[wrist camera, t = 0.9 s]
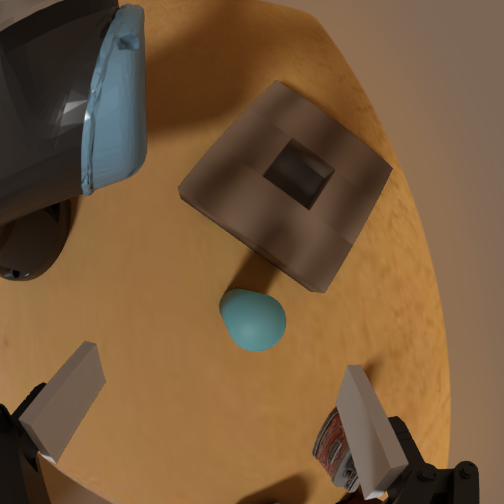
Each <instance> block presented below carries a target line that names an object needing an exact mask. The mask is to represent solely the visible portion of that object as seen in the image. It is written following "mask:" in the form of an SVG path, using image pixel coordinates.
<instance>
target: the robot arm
mask: <svg viewBox="0 0 504 504" xmlns="http://www.w3.org/2000/svg"><path fill="white" fill-rule="evenodd" d="M144 21H145V19H144V9H143V8H142V7H141V6H139V5H131V4H129V3H128V4H125V5H122V6H121V8H120V7H119V5H118V0H0V277H2V278H4V279H7V280H12V281H28V280H32V279H35V278H37V277H39V276H40V275H42V274H43V273H44V272H46V271H47V270H48V269H49V268H50V267H51V265H52V264H53V263H54V262H55V260H56V259H57V257H58V255H59V254H60V252H61V250H62V248H63V245H64V243H65V240H66V237H67V233H68V229H69V223H70V198H72V197H75V196H78V195H81V194H84V195H85V196H89V195H91V194H93V192H94V190H97V189H99V188H102V187H105V186H108V185H110V184H113V183H116V182H119V181H122V180H125V179H127V178H129V177H131V176H133V175H134V174H135V173H137V172H138V171H139V169H140V168H141V167H142V165H143V163H144V161H145V158H146V154H147V120H146V92H145V36H144ZM105 383H106V380H105V377H104V373H103V370H102V366H101V362H100V358H99V354H98V349H97V345H96V344H95V343H91V342H86V341H85V342H84V343H83V344H82V345H81V346H80V347H79V348H78V349H77V350H76V351H75V353H74V354H73V355H72V356H71V357H70V358H69V359H68V360H67V362H66V363H65V364H64V365H63V366H62V367H61V368H60V370H59V371H58V372H57V373H56V374H55V375H54V376H53V378H52V379H51V380H50V381H49V382H48V383H47V384H46V383H44V382H43V383H41V384H39V385H38V386H36V387H35V388H34V389H33V390H32V391H31V392H30V395H28V396H27V397H26V400H25V399H24V401H23V402H22V403H21V404H20V405H19V407H18V408H17V409H16V410H15V411H14V413H13V414H12V415H10V413H9V412H8V410H7V408H6V407H5V406H4V405H3V404H0V504H51V502H50V499H49V496H48V492H47V489H46V486H45V482H44V479H43V475H42V471H41V468H40V463H39V459H38V457H37V455H36V454H37V452H38V451H40V453H41V454H42V456H43V457H44V458H46V459H48V460H50V461H52V462H54V463H56V464H57V462H58V460H59V458H60V457H61V455H62V453H63V451H64V450H65V448H66V446H67V444H68V443H69V441H70V439H71V438H72V436H73V434H74V433H75V431H76V429H77V428H78V426H79V424H80V423H81V421H82V419H83V418H84V416H85V414H86V413H87V411H88V410H89V408H90V406H91V405H92V403H93V402H94V400H95V398H96V397H97V395H98V394H99V392H100V391H101V389H102V387H103V386H104V384H105ZM336 406H337V409H338V412H339V416H340V419H341V422H342V425H343V428H344V431H345V435H346V438H347V441H348V444H349V448H350V451H351V454H352V458H353V461H354V464H355V468H356V471H357V474H358V478H359V481H360V485H361V488H362V492H363V495H364V499H365V500H367V499H372V498H376V497H380V496H382V495H383V494H384V493H385V491H386V490H387V493H388V497H387V498H386V499H385V500H384V501H383V502H382V504H479V472H478V468H477V467H476V465H475V464H473V463H472V462H470V461H462V462H460V463H459V464H458V465H457V466H456V467H455V468H454V469H437V468H436V467H435V466H433V465H431V464H428V463H425V461H424V460H423V458H422V456H421V454H420V452H419V450H418V448H417V446H416V444H415V442H414V440H413V439H412V436H411V434H410V432H409V430H408V428H407V426H406V424H405V423H404V422H403V421H402V420H401V419H400V418H399V417H398V416H395V417H389V418H387V416H386V414H385V412H384V410H383V408H382V406H381V404H380V402H379V399H378V397H377V395H376V393H375V391H374V389H373V387H372V385H371V383H370V382H369V380H368V378H367V376H366V374H365V372H364V370H363V368H362V366H361V365H347V369H346V372H345V375H344V378H343V382H342V385H341V388H340V391H339V394H338V397H337V400H336Z"/></svg>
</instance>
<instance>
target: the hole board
mask: <svg viewBox="0 0 504 504" xmlns="http://www.w3.org/2000/svg"><path fill="white" fill-rule="evenodd" d="M392 169H393V168H392V167H391V166H390V165H389V164H388V163H387V162H386V161H385V160H383V159H382V158H381V157H380V156H379V155H378V154H377V153H375V152H374V151H373V150H372V149H371V148H370V147H368V146H367V145H366V144H365V143H364V142H362V141H361V140H360V139H359V138H358V137H356V136H355V135H354V134H353V133H351V132H350V131H349V130H348V129H346V128H345V127H344V126H342V125H341V124H340V123H339V122H337V121H336V120H335V119H333V118H332V117H331V116H329V115H328V114H326V113H325V112H324V111H322V110H321V109H319V108H318V107H317V106H315V105H314V104H312V103H311V102H309V101H308V100H307V99H305V98H304V97H302V96H301V95H299V94H298V93H296V92H295V91H293V90H291V89H290V88H288V87H287V86H285V85H284V84H282V83H280V82H279V81H277V80H275V81H274V82H273V83H272V84H271V85H270V86H269V87H268V88H267V89H266V90H265V91H264V92H263V93H262V94H261V95H260V96H259V97H258V98H257V99H256V100H255V101H254V102H253V103H252V104H251V105H250V106H249V107H248V108H247V109H246V110H245V111H244V112H243V113H242V114H241V115H240V116H239V117H238V118H237V119H236V120H235V122H234V123H233V124H232V125H231V126H230V127H229V128H228V129H227V130H226V131H225V132H224V133H223V135H222V136H221V137H220V138H219V139H218V140H217V141H216V142H215V143H214V145H213V146H212V147H211V148H210V149H209V150H208V151H207V153H206V154H205V155H204V156H203V157H202V158H201V160H200V161H199V162H198V163H197V164H196V165H195V167H194V168H193V169H192V170H191V171H190V173H189V174H188V175H187V176H186V178H185V179H184V180H183V181H182V182H181V184H180V185H179V186H178V190H179V194H180V197H181V199H182V200H184V201H185V202H186V203H188V204H189V205H191V206H192V207H193V208H195V209H196V210H198V211H199V212H200V213H202V214H203V215H205V216H206V217H207V218H209V219H210V220H212V221H213V222H214V223H216V224H217V225H219V226H220V227H221V228H223V229H224V230H225V231H227V232H228V233H230V234H231V235H232V236H234V237H235V238H237V239H238V240H239V241H241V242H242V243H244V244H245V245H246V246H248V247H249V248H251V249H252V250H253V251H255V252H256V253H258V254H259V255H260V256H262V257H263V258H265V259H266V260H267V261H269V262H270V263H272V264H273V265H274V266H276V267H277V268H278V269H280V270H281V271H283V272H284V273H285V274H287V275H288V276H290V277H291V278H292V279H294V280H295V281H297V282H298V283H299V284H301V285H302V286H304V287H305V288H306V289H308V290H309V291H310V292H318V293H325V292H326V290H327V289H328V287H329V285H330V284H331V282H332V280H333V279H334V277H335V275H336V274H337V272H338V270H339V269H340V267H341V265H342V264H343V262H344V260H345V258H346V257H347V255H348V253H349V251H350V250H351V248H352V246H353V244H354V243H355V241H356V239H357V237H358V235H359V234H360V232H361V230H362V228H363V226H364V224H365V223H366V221H367V219H368V217H369V215H370V213H371V211H372V209H373V207H374V205H375V203H376V202H377V200H378V198H379V196H380V194H381V192H382V190H383V188H384V186H385V184H386V182H387V180H388V177H389V175H390V173H391V171H392Z"/></svg>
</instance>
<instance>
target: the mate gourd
mask: <svg viewBox="0 0 504 504" xmlns="http://www.w3.org/2000/svg"><path fill="white" fill-rule="evenodd" d="M382 502H383V501H381V500H379V499H377V498H372V499H367V500H365V499H364V495H362V494H360V493H359V492H358V489H356V491H355V492H352V494H351V498H350V499H349V500H346V501H342V502H339V503H336V504H382Z"/></svg>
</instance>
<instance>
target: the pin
mask: <svg viewBox="0 0 504 504" xmlns="http://www.w3.org/2000/svg"><path fill="white" fill-rule="evenodd" d="M219 310H220V313H221V316H222V318H223V320H224V322H225V325H226V327H227V329H228V332H229V334H230V336H231V338H232V339H233V341H234V342H235V343H236V344H237V345H239V346H240V347H242V348H243V349H246V350H249V351H263V350H266V349H269V348H271V347H272V346H274V345H275V344H276V343H277V342H278V341H279V340H280V339H281V337H282V336H283V333H284V331H285V327H286V316H285V312H284V310H283V308H282V306H281V305H280V303H279V302H278V301H277V300H275V299H274V298H273V297H271V296H269V295H266V294H262V293H258V292H253V291H249V290H245V289H240V288H235V289H231V290H229V291H227V292H226V293H225V294H224V295H223V296H222V298H221V300H220V304H219Z"/></svg>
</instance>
